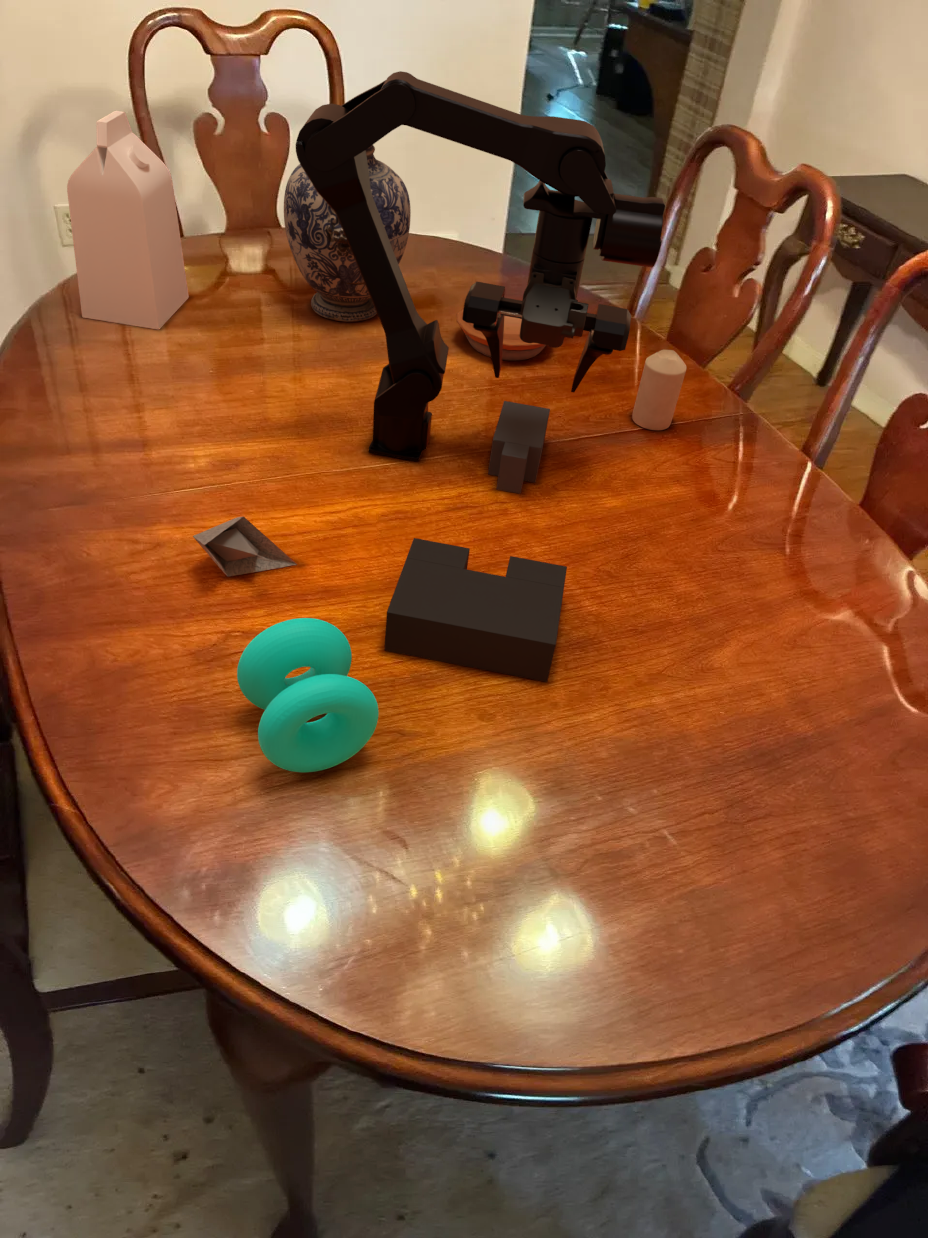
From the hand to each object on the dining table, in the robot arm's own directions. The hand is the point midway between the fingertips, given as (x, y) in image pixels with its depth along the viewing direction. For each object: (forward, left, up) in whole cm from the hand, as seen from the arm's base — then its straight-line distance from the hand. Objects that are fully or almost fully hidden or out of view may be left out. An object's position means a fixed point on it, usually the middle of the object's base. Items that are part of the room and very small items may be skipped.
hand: (535, 383), depth 111 cm
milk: (-62, +23, -11) cm, 67 cm away
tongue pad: (-1, -1, -11) cm, 11 cm away
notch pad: (-1, -33, -11) cm, 35 cm away
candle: (+16, +16, -11) cm, 25 cm away
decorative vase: (-33, +35, -11) cm, 49 cm away
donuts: (-13, -51, -11) cm, 53 cm away
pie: (-7, +32, -11) cm, 35 cm away
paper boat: (-26, -32, -11) cm, 42 cm away
